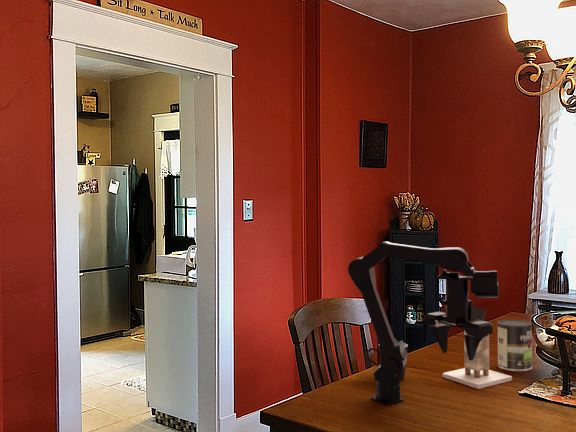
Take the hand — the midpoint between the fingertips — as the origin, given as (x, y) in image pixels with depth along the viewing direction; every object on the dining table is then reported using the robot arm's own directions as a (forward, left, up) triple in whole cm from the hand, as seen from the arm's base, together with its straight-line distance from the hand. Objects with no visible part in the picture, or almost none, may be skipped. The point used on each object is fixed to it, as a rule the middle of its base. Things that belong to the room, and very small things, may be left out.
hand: (457, 356), depth 165 cm
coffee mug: (-30, +2, -13) cm, 33 cm away
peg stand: (-14, +22, -13) cm, 29 cm away
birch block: (-14, +22, -10) cm, 28 cm away
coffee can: (-16, +41, -13) cm, 46 cm away
